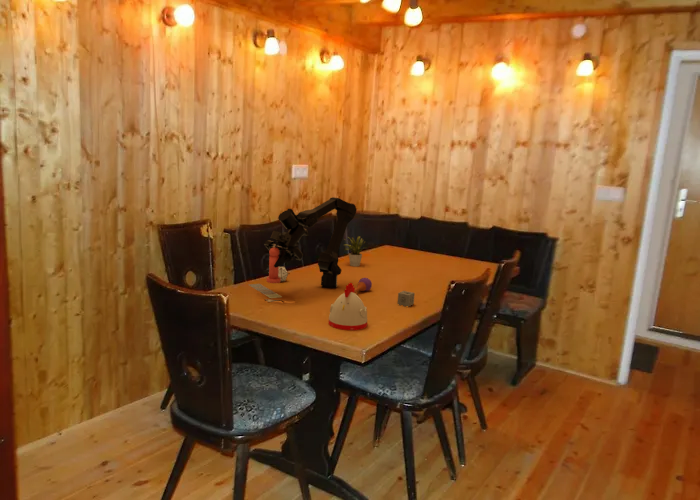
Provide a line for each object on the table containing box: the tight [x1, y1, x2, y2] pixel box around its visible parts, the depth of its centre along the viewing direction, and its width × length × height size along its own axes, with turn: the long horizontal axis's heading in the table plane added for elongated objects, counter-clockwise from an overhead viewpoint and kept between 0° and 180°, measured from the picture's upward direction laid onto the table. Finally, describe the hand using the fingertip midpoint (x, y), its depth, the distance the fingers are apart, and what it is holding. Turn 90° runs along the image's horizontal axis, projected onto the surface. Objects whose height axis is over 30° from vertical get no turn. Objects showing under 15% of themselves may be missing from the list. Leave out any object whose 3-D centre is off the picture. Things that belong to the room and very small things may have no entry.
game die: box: [278, 265, 291, 283], centre depth 256 cm, size 9×8×10 cm
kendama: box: [354, 277, 373, 294], centre depth 245 cm, size 6×6×20 cm
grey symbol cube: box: [397, 290, 416, 308], centre depth 232 cm, size 5×5×5 cm
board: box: [248, 283, 283, 303], centre depth 238 cm, size 27×9×1 cm, turn 32°
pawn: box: [266, 247, 281, 284], centre depth 228 cm, size 6×6×14 cm
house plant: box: [343, 235, 368, 267], centre depth 304 cm, size 14×14×16 cm
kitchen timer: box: [328, 282, 368, 331], centre depth 201 cm, size 14×14×15 cm
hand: (271, 265), depth 227 cm, fingers closed on pawn, 4 cm apart
